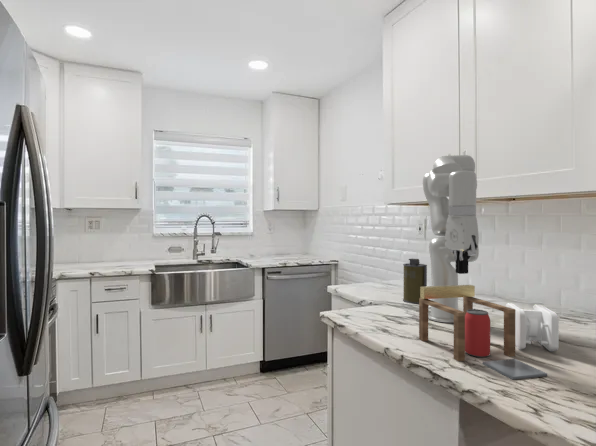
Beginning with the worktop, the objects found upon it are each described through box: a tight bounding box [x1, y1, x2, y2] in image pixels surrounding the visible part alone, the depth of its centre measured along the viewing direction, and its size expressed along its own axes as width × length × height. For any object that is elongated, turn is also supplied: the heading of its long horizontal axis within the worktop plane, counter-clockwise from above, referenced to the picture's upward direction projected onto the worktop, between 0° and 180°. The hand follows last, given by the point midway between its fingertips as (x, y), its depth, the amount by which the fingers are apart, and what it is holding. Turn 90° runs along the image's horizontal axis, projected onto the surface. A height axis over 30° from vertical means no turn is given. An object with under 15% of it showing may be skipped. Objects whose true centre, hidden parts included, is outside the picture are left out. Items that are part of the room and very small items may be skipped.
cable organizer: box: [505, 302, 560, 353], centre depth 113 cm, size 15×11×12 cm
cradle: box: [418, 297, 516, 362], centre depth 111 cm, size 20×18×13 cm
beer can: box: [465, 308, 491, 358], centre depth 106 cm, size 7×7×12 cm
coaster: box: [481, 358, 548, 381], centre depth 94 cm, size 10×10×1 cm
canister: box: [402, 258, 428, 304], centre depth 176 cm, size 11×10×20 cm
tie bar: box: [420, 284, 476, 300], centre depth 119 cm, size 2×18×4 cm, turn 103°
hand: (461, 273), depth 113 cm, fingers closed
